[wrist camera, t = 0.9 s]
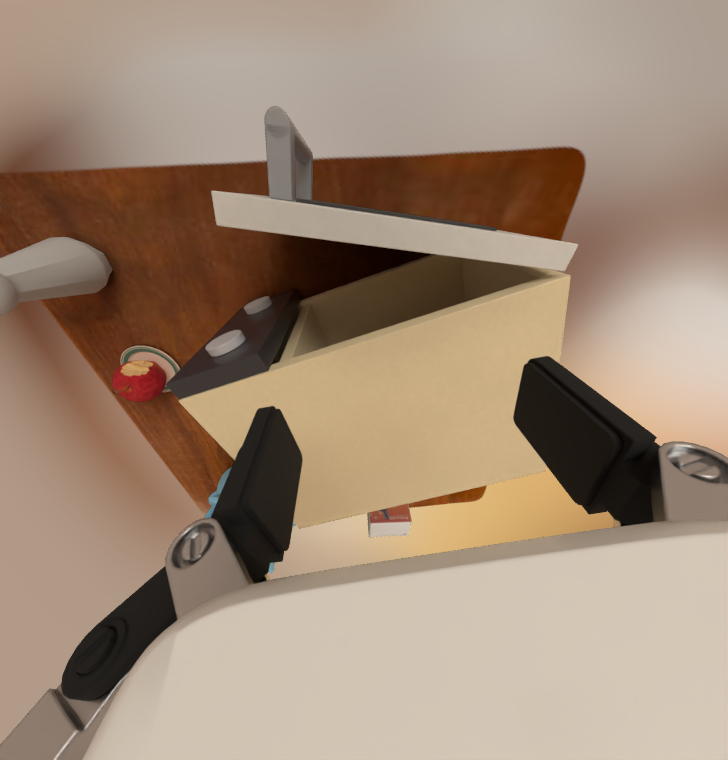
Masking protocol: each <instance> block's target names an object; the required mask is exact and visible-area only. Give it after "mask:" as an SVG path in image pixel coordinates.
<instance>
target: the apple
mask: <svg viewBox="0 0 728 760" xmlns="http://www.w3.org/2000/svg"><path fill="white" fill-rule="evenodd" d="M179 370H180V368H179V366H178V364H177V363H176V362H175V361H174V360H173V359H172V358H171V357H170V356H168V355H167V354H166V353H164V352H162V351H160V350H158V349H155V348H152V347H148V346H134V347H130V348H128V349H127V350H125V351H124V352H123V354H122V355H121V366H119V367H118V368H117V369H116V371H115V372H114V374H113V377H112V386H113V388H114V390H115V391H112V392H113V393H118V394H119V395H120V396H122V397H123V398H125V399H127V400H130V401H136V402H144V401H149V400H152V399H154V398H155V397H157V396H158V395H160V394H161V392H168V391H171V390H170V389H169V388H168V387H167V386H166V383H167V382H168V381H169V380H170V379H171V378H172V377H173V376H174V375H175V374H176V373H177V372H178V371H179Z"/></svg>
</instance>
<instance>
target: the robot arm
mask: <svg viewBox="0 0 728 760" xmlns="http://www.w3.org/2000/svg"><path fill="white" fill-rule="evenodd" d="M513 420H514V423H515V425H516V426H517V428H518V429H519V430H520V432H521V433H522V434H523V435H524V437H525V438H526V439H527V441H528V442H529V443H530V445H531V446H532V447H533V449H534V450H535V451H536V452H537V454H538V455H539V456H540V458H541V459H542V460H543V462H544V463H545V464H546V465H547V467H548V468H549V469H550V470H551V472H552V473H553V475H554V476H555V477H556V478H557V480H558V481H559V482H560V484H561V485H562V486H563V488H564V489H565V490H566V492H567V493H568V494H569V495H570V497H571V498H572V499H573V500H574V502H575V503H577V504H578V505H582V506H583V507H584V509H585V510H586V511H587V513H588V514H595V513H601V512H607V511H608V512H609V513H610V514H611V515H612V517H613V518H614V526H613V528H605V529H598V530H591V531H584V532H577V533H570V534H563V535H556V536H549V537H542V538H536V539H528V540H521V541H515V542H509V543H502V544H494V545H488V546H481V547H474V548H468V549H461V550H454V551H448V552H441V553H435V554H428V555H421V556H414V557H408V558H401V559H395V560H388V561H382V562H376V563H369V564H363V565H356V566H350V567H343V568H337V569H331V570H324V571H318V572H313V573H307V574H301V575H295V576H290V577H284V578H279V579H273V580H270V579H269V577H268V575H267V573H268V571H269V566H270V563H274V562H281V561H282V560H283V555H284V551H286V550H288V548H289V544H290V538H291V532H292V526H293V519H294V513H295V506H296V500H297V494H298V487H299V481H300V475H301V468H302V461H303V458H302V453H301V451H300V449H299V447H298V445H297V443H296V441H295V438H294V436H293V434H292V432H291V430H290V428H289V426H288V424H287V422H286V420H285V418H284V416H283V414H282V412H281V410H280V409H276V408H275V407H274V406H269V407H264V408H259V409H258V410H257V411H256V414H255V416H254V418H253V421H252V423H251V426H250V428H249V431H248V433H247V435H246V438H245V440H244V443H243V445H242V447H241V448H240V449H239V451H238V453H237V456H236V458H235V461H234V463H233V465H232V468H231V470H230V473H229V475H228V477H227V480H226V482H225V484H224V487H223V489H222V492H221V494H220V496H219V499H218V501H217V504H216V506H215V508H214V511H213V513H212V515H211V518H203V519H200V520H197V521H195V522H193V523H192V524H190V525H189V526H187V527H186V528H185V529H184V530H183V531H181V532H180V533H179V535H178V536H177V537H176V538H175V540H174V541H173V542H172V544H171V546H170V547H169V549H168V552H167V555H166V558H165V567H164V568H162V569H161V570H160V571H159V572H158V573H157V574H156V575H154V576H153V577H152V578H151V579H150V580H148V581H147V582H146V583H145V584H144V585H143V586H142V587H140V588H139V589H138V590H137V591H136V592H135V593H133V594H132V595H131V596H130V597H129V598H128V599H126V600H125V601H124V602H123V603H122V604H121V605H119V606H118V607H117V608H116V609H115V610H114V611H113V612H111V613H110V614H109V615H108V616H107V617H106V618H104V619H103V620H102V621H101V622H100V623H99V624H97V625H96V626H95V627H94V628H93V629H92V631H90V632H89V633H88V634H87V635H86V636H85V638H84V639H83V640H82V641H81V643H80V644H79V645H78V646H77V648H76V649H75V651H74V653H73V654H72V656H71V658H70V659H69V661H68V663H67V666H66V668H65V671H64V673H63V676H62V683H61V684H60V685H59V686H58V688H57V689H49V690H48V691H47V692H46V693H45V694H44V696H43V697H42V698H41V699H40V700H39V701H38V702H37V704H36V705H35V706H34V707H33V708H32V709H31V711H29V713H28V714H27V715H26V716H25V717H24V718H23V720H22V721H21V722H20V723H19V724H18V725H17V726H16V727H15V729H14V730H13V731H12V732H11V733H10V734H9V736H8V737H7V738H6V739H5V740H4V741H3V742H2V743H1V745H0V760H728V458H727V457H725V456H724V455H722V454H720V453H718V452H716V451H714V450H711V449H709V448H707V447H704V446H700V445H697V444H693V443H687V442H668V443H664V444H663V445H662V446H659V445H658V444H657V443H655V442H654V441H655V439H656V438H657V437H656V436H654V435H653V434H652V433H650V432H649V431H648V430H646V429H645V428H644V427H642V426H641V425H640V424H638V423H637V422H636V421H635V420H633V419H632V418H631V417H629V416H628V415H627V414H625V413H624V412H622V411H621V410H620V409H619V408H617V407H616V406H615V405H613V404H612V403H611V402H609V401H608V400H607V399H605V398H604V397H603V396H601V395H600V394H599V393H597V392H596V391H595V390H593V389H592V388H591V387H589V386H588V385H587V384H586V383H584V382H583V381H582V380H580V379H579V378H577V377H576V376H575V375H574V374H572V373H571V372H570V371H568V370H567V369H566V368H564V367H563V366H562V365H560V364H559V363H558V362H556V361H555V360H554V359H552V358H551V357H549V356H544V357H538V358H533V359H530V360H529V361H528V363H527V364H525V365H524V367H523V371H522V376H521V381H520V386H519V391H518V396H517V400H516V405H515V410H514V415H513Z"/></svg>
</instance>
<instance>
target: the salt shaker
mask: <svg viewBox="0 0 728 760" xmlns="http://www.w3.org/2000/svg"><path fill="white" fill-rule="evenodd" d="M111 272H112V268H111V266H110V264H109V262H108V260H107V258H106V256H105V255H104V253H102V252H100V251H98V250H97V249H95V248H93V247H91V246H90V245H88V244H86V243H83V242H80V241H77V240H74V239H71V238H68V237H55V238H48V239H46V240H44V241H41V242H39V243H36V244H34V245H31V246H29V247H27V248H24V249H22V250H19V251H17V252H14V253H12V254H10V255H7V256H5V257H2V258H0V315H4V314H6V313H9V312H10V311H12V310H13V309H14V308H15V307H17V306H18V305H19V302H24V301H32V300H41V299H49V298H57V297H66V296H74V295H82V294H90V293H97V292H98V291H100V290H101V289H102V288H104V287H105V286H106V285H107V281H108V278H109V275H110V274H111Z"/></svg>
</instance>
